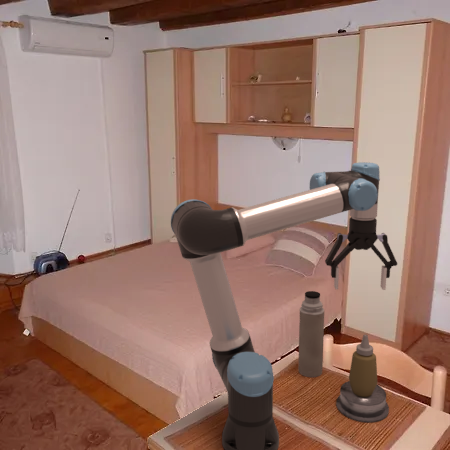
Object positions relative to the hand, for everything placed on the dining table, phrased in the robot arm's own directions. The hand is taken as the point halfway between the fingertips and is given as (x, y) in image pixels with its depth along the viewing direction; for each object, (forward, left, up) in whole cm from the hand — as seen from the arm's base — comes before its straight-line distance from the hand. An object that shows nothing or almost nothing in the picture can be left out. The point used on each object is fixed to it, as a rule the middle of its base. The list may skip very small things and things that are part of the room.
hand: (359, 288), depth 144 cm
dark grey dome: (+1, -7, -35) cm, 35 cm away
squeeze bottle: (+1, -7, -30) cm, 31 cm away
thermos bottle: (-12, +13, -35) cm, 39 cm away
